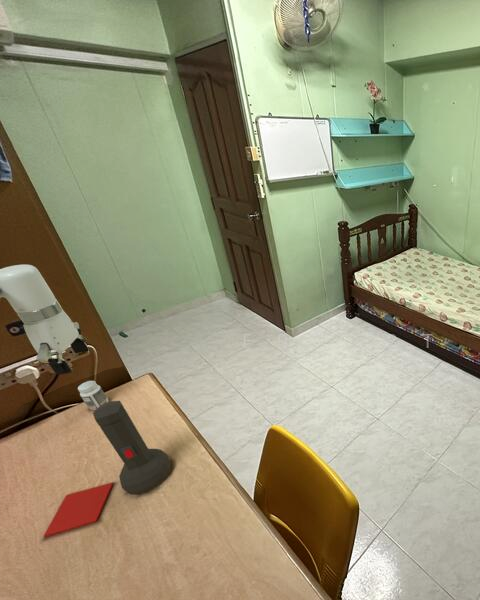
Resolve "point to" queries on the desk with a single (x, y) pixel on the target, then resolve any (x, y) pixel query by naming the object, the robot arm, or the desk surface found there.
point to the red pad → (79, 509)
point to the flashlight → (132, 450)
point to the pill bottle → (92, 395)
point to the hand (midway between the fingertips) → (73, 362)
